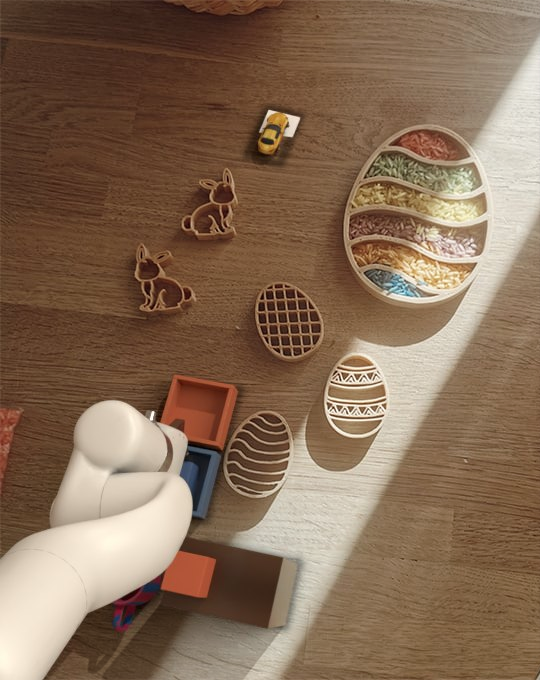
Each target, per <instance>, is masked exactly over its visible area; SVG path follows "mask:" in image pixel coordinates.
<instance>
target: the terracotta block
mask: <svg viewBox="0 0 540 680" xmlns="http://www.w3.org/2000/svg"><path fill="white" fill-rule="evenodd" d="M215 563H216V559H213V558H210V557H206V556H201V555H196V554H192V553H187V552H182V551H178V552H177V554H176V556H175V558H174V560H173V561H172V563H171V564H170V565H169V567H168V568H167V569H166V570H165V571H164V574H163V579H162V581H161V584H160V590H162V591H164V590H166V591H171V592H175V593H180V594H184V595H189V596H193V597H200V598H207V595H208V591H209V587H210V583H211V579H212V575H213V571H214V567H215Z"/></svg>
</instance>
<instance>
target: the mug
mask: <svg viewBox="0 0 540 680" xmlns="http://www.w3.org/2000/svg"><path fill="white" fill-rule="evenodd" d="M161 584H162V573H161V574H160V575H159V576H157V577H156V578H155V579H153V580H151V581H150V582H148V583H147V584H145V585H143V586H141V587H139V588H138V589H136V590H134V591H132V592H130V593H128V594H127V595H125V596H123V597H121V598H119V599H117V600H115V601H114V602H112V603H110V604H111V605H114V606H115V609H114V613H113V616H112V617H113V618H112V627H113V629H114V631H115V632H117V633H125V632H126V631H128V630H129V628H130V627H131V624H132V621H133V617H134V614H135V611H136V606H140V605H143V604H145V603H147V602H149V601H150V600H152V599H153V598H154V597H155V596H156V594H157V593H158V591H159V589H160V587H161ZM125 608H126V610H125ZM124 610H125V615H124V619H123V622H122V617H123V613H124Z"/></svg>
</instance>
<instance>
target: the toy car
mask: <svg viewBox="0 0 540 680" xmlns="http://www.w3.org/2000/svg"><path fill="white" fill-rule="evenodd" d="M300 121H301V116H297V115H292V114H288V113H284V112H279V111H275V110H271V109H268V111H267V113H266V115H265V117H264V119H263V122H262V124H261V126H260V129H259V131H258V133H259V134H261V135H260V137H259V139H258V140H257V142H256V146H257V148H258V152H259V153H261V154H263V155H269V156H272V155H274V154H275V153H277V152H279V151H280V150H281V147H280V145H281V142H282V139H283V137H286V138H287V137H288V138H293V137H294V135H295V132H296V130H297V128H298V125H299V123H300Z"/></svg>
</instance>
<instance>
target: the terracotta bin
mask: <svg viewBox="0 0 540 680" xmlns="http://www.w3.org/2000/svg"><path fill="white" fill-rule="evenodd" d="M238 393H239V391H238V389H237V388H236V386H235V385H234V384H230V383H224V382H218V381H213V380H208V379H203V378H197V377H191V376H187V375H182V374H181V375H180V374H173V378H172V381H171V385H170V388H169V391H168V394H167V398H166V401H165V405H164V409H163V411H162V414H161V418H160V421H159V423H162V424H165V425H170V424H171V423H172V422H173V421H174V420H175V419H176V418H177V419H182V420H185V427H184V434H185V435H186V437H187V440H188V444H187V445H191V446H196V447H202V448H207V449H211V450H215V451H216V450H217V451H222V452H223V450H224V447H225V444H226V440H227V435H228V431H229V428H230V424H231V420H232V416H233V412H234V408H235V405H236V401H237V397H238Z"/></svg>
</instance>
